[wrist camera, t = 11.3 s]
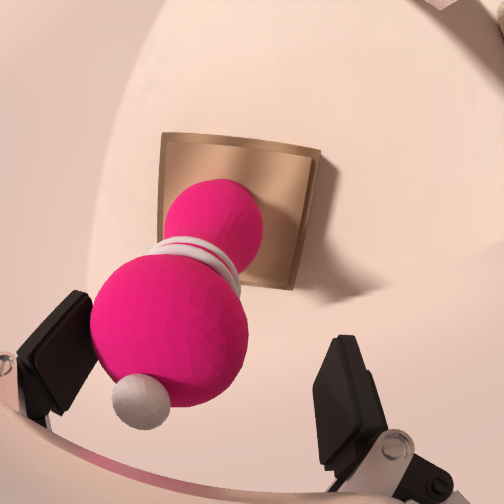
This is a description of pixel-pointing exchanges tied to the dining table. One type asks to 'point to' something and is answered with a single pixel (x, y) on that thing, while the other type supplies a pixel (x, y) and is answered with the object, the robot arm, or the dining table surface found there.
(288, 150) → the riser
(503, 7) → the canister
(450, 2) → the milk
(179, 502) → the robot arm
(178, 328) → the pepper mill
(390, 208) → the dining table surface
